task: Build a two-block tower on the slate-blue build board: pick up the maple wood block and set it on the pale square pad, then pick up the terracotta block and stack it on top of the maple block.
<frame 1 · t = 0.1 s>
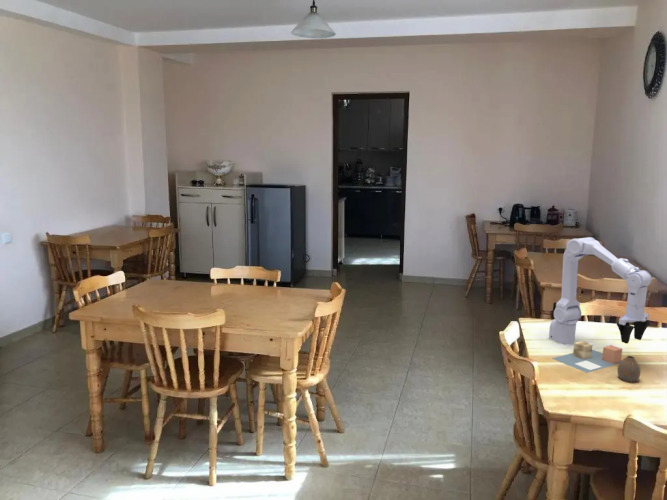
hand: (631, 340, 204), 10 cm above the table, tool pointing down, fingers open, 7 cm apart
terracotta block: (611, 360, 209), point 1 cm above the table, touching build board
build board: (588, 362, 210), on the table
maple block: (582, 356, 213), point 1 cm above the table, touching build board
vase: (627, 381, 194), on the table
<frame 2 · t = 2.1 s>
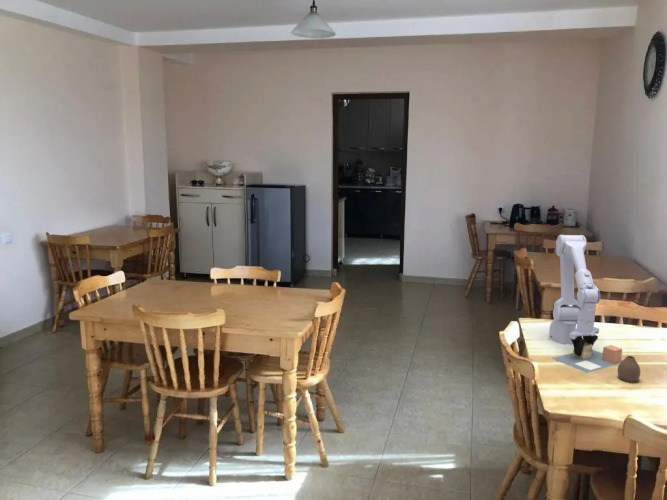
hand: (582, 354, 213), 2 cm above the table, tool pointing down, fingers closed on maple block, 4 cm apart
maple block: (582, 356, 213), point 1 cm above the table, touching build board, gripper
everything else where it was.
when the fingers open (3 cm above the table, at t = 5.6 s): maple block stays where it is, resting on build board.
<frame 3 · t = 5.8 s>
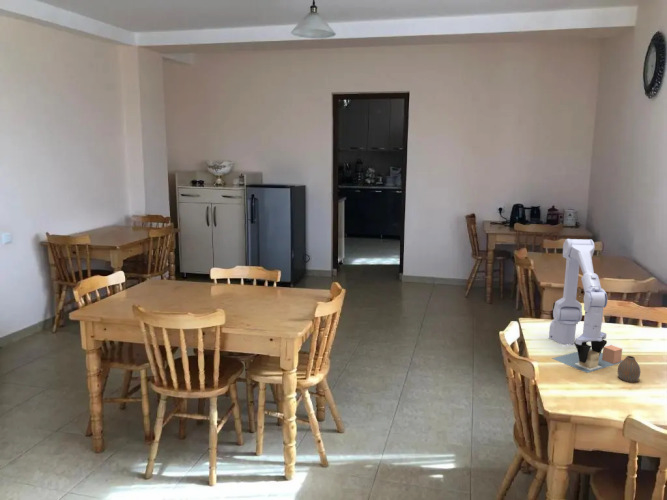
hand: (588, 360, 204), 3 cm above the table, tool pointing down, fingers open, 6 cm apart
maple block: (588, 365, 204), point 1 cm above the table, touching build board
everything else where it was.
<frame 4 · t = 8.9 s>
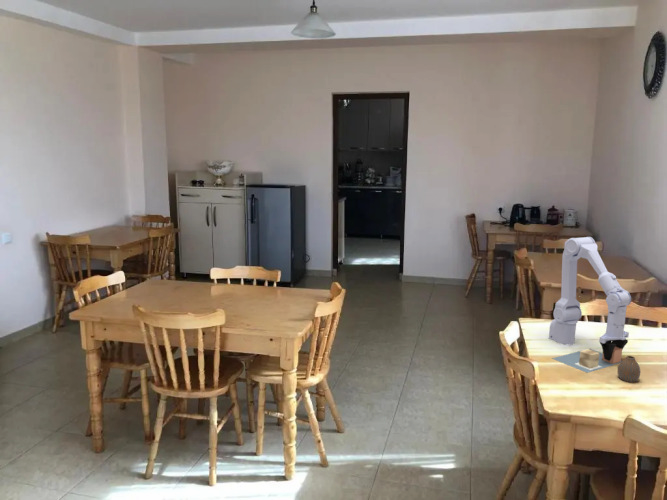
hand: (611, 358, 209), 2 cm above the table, tool pointing down, fingers closed on terracotta block, 4 cm apart
terracotta block: (611, 360, 209), point 1 cm above the table, touching build board, gripper
everything else where it was.
when the fingers open (8 cm above the table, at t = 11.5 s): terracotta block stays where it is, resting on maple block.
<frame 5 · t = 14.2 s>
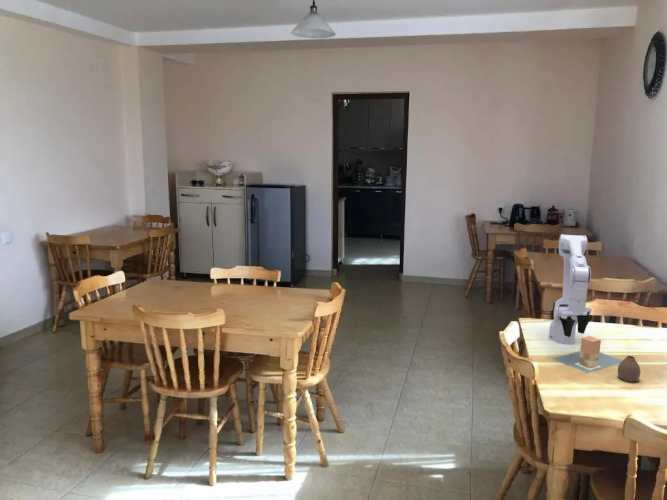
hand: (574, 334, 208), 10 cm above the table, tool pointing down, fingers open, 7 cm apart
terracotta block: (589, 352, 203), point 6 cm above the table, touching maple block
maple block: (588, 365, 204), point 1 cm above the table, touching build board, terracotta block
everything else where it was.
at the end: maple block 0.1 cm from the target spot on the build board, point 1.0 cm above the build board's base; terracotta block 0.0 cm off-centre on the maple block, point 5.0 cm above the maple block's base; terracotta block tilted 0° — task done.
